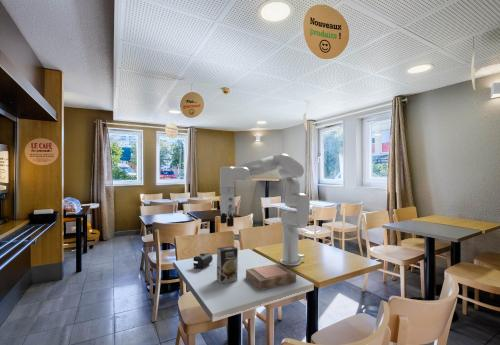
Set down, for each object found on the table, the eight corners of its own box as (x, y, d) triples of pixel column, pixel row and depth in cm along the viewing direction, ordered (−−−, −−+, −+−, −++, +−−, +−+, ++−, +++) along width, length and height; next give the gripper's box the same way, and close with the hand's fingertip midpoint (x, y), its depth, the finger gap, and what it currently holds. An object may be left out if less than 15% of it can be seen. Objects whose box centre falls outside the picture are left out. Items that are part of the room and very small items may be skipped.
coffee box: (221, 284, 122) (221, 250, 122) (216, 279, 128) (216, 247, 128) (238, 280, 126) (238, 248, 126) (232, 276, 132) (232, 245, 132)
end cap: (203, 270, 140) (203, 258, 140) (192, 268, 143) (193, 256, 143) (212, 264, 149) (212, 253, 149) (202, 263, 152) (202, 252, 152)
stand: (278, 271, 139) (278, 263, 139) (296, 281, 124) (296, 273, 125) (246, 277, 130) (246, 268, 130) (260, 289, 116) (260, 280, 116)
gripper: (240, 191, 122) (240, 227, 121) (228, 190, 137) (227, 221, 137) (226, 192, 118) (225, 228, 118) (214, 190, 134) (214, 222, 134)
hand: (226, 224), depth 127 cm, fingers open, 9 cm apart
